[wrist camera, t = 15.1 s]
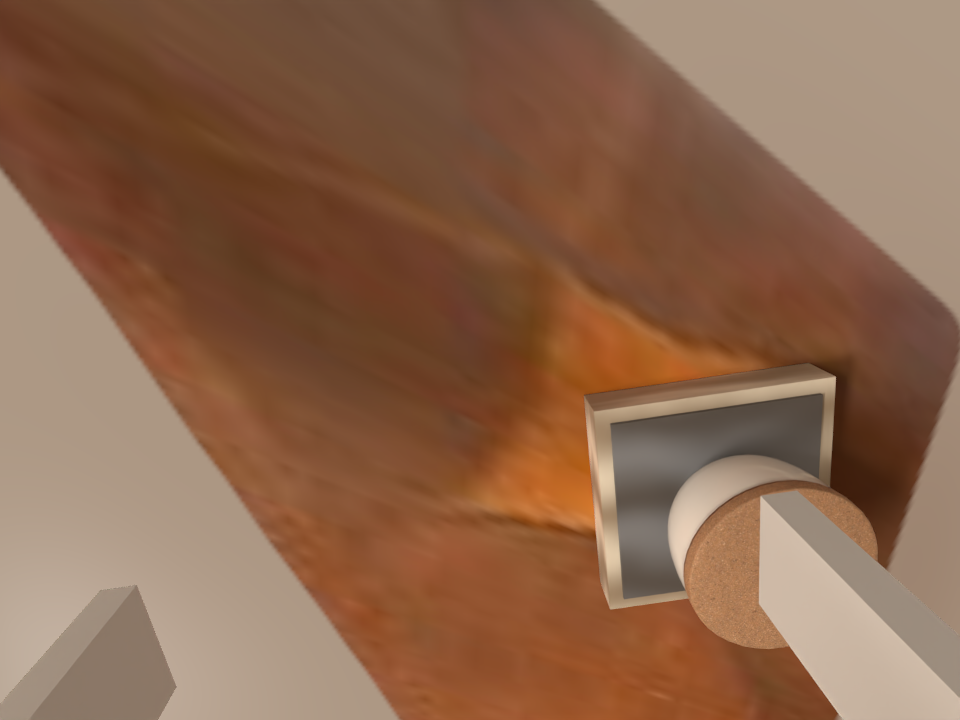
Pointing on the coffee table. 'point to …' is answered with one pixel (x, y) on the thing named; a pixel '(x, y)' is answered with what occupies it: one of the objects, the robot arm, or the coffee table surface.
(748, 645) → the lidded jar
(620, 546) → the stand
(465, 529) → the coffee table surface
